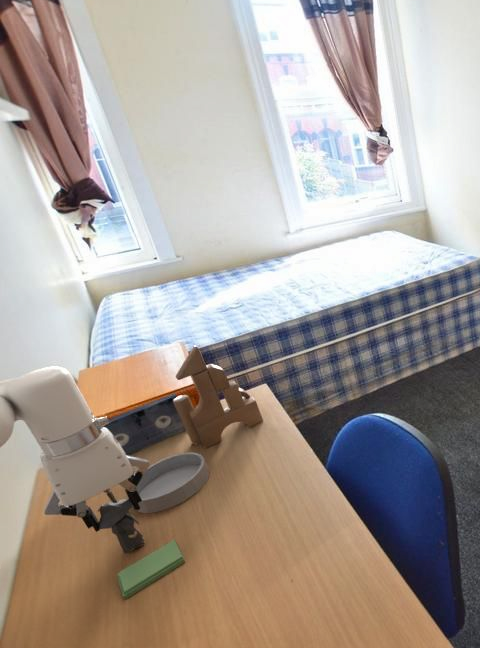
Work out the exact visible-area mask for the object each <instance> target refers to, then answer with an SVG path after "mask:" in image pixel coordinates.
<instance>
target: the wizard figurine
mask: <svg viewBox="0 0 480 648" xmlns="http://www.w3.org/2000/svg"><path fill="white" fill-rule="evenodd" d="M102 493H105V494H106V497H108V499H109V500H110V501H108V502H106V503H104V504H102V505H100V507H99V508H98V510H97V511H96V512H97V513H99V514H100V518H99V519H98V521H99V528H100V530H108V529H111V533H112V534H113V535H115V536H116V538H117V540H118V541H117V542H118V543H119V546H120V547H121V549H122V552H123V553H130V552H132V551H133V550H134V549H135V550H136V549H137V548H140V547H141V546H143V545H144V544H145V539H143V536H144V535H143V534H142V533H141V532H140V531H139V530H138V529H136V528H135V524H137V525H139V526H140V523H139V520H138V519H137V518H136V516H134V515H133V514H132V513H131V512H130V510H131V509H132V508H134V507H133V505H132V503H131V501H130V499H129V498H123V499H120V500H117V499H116V497H115V496H114V494H113V492H112V491H111V488H109V489H107V490H105V491H103V492H102Z"/></svg>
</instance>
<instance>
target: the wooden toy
mask: <svg viewBox="0 0 480 648" xmlns="http://www.w3.org/2000/svg"><path fill="white" fill-rule="evenodd" d="M188 377H191V381H192V382H193V385H194V387H195V389H196V391H197V394H198V396H199V400H198V404H197V405H196V406H195V407H194V406H193V403H192V401H191V399H190V396H189V395H188V394H182V395H178V396H177V398H175V399H174V400H173V403H174V405H175V408H176V410H177V412H178V414H179V416H180V418H181V420H182V423H183V425H184V427H185V429H186V430H185V432H186V433H187V435H188V438H189V440H190V442H191V443H192V444H193V445H199V444H202V445H203V447H204V449H207V448H209V447H211V446H213V445H215V444H218V443H220V442H222V434H223V432H224V430H226V428H227V427H228V426H230V425H232V424H235V423H243V424H245V425H246V426H247V427H248V428H251V427H252V426H255V425H257V424H259V423H261V422H263V421H264V418H263V416H262V413H261V411H260V408H259V405H258V403H257V400H256V399H254V397H253V396H251V395H250V393H248V392H247V391H246V390H244V388H242V387H239V385H238V383H237V382H235V380H229V379H228V376H227V374H226V371H225V369H224V368H222V366H219V365H216V364H213V363H208V364H206V362H205V360H204V357H203V355H202V352H201V350H200V347H198V346H197V344H195V345H193V346H192V348H191V350H190V351H189V353H188V354H187V356H186V358H185V360H184V361H183V363H182V364H181V366H180V367H179V369H178V370H177V373H176V374H175V379H176V380H177V381H181V380H183V379H185V378H188ZM220 391H221V392H222V395H223V397H224V400H225V402H226V404H227V407H225V408H224V407H223V404H222V402H221V400H220V397H219V395H218V392H220Z"/></svg>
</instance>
